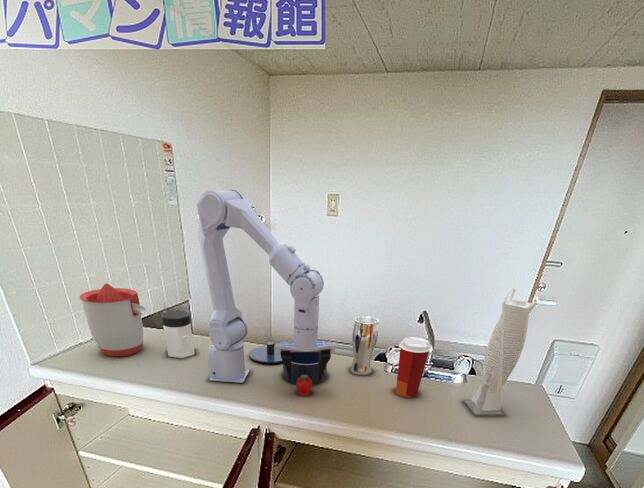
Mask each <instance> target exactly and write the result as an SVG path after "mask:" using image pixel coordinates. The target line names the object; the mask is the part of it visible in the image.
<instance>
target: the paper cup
mask: <svg viewBox="0 0 644 488" xmlns="http://www.w3.org/2000/svg"><path fill="white" fill-rule="evenodd" d="M398 347H399V348H400V349H399V358H398V367H397V376H396V386H395V393H396V394H397V395H398V396H400V397H403V398H414V397H416V396H417V395H418V392H419V390H420V385H421V383H422V378H423V375H424V372H425V371H424V370H425V367H426V363H427V360H428V357H429V353H430V351H431V350H432V347H431V343H430V341H429V340H427V339H425V338H422V337H416V336H412V337H411V336H409V337H405V338H403V339H402V340H401V341H400V343H399V344H398Z"/></svg>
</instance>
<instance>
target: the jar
mask: <svg viewBox="0 0 644 488" xmlns="http://www.w3.org/2000/svg"><path fill="white" fill-rule="evenodd" d="M161 321H162V325H163V326H162V329H163V333H164V339H165V346H166V350H167V356H168V357H170V358H176V359H184V358H188V357H191V356H194V355H195V346H194V338H193V330H192V321H191V315H190V312H188V311H185V310H169V311H165V312H163V313H162V314H161Z"/></svg>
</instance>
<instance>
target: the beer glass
mask: <svg viewBox="0 0 644 488" xmlns="http://www.w3.org/2000/svg"><path fill="white" fill-rule="evenodd" d="M379 324H380V320H379V318H376V317H373V316H357V317H355V318H354V323H353V328H352V337H351V341H352V363H351V366H350V372H351V373H352V374H354V375H357V376H368V375H371V373H372V359H373V355H374V352H375V350H376V347H377V342H378V337H379V327H380V326H379Z"/></svg>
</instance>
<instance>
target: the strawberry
mask: <svg viewBox="0 0 644 488" xmlns="http://www.w3.org/2000/svg"><path fill="white" fill-rule="evenodd" d="M295 386H296V389H297V394H298V395H300V396H310V394H311V391H312V390H311V389H312V387H313V385H312V380H311V379H310V378H309V377H308V375H301V377H299V378H298V380H297V382H296V384H295Z"/></svg>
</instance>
